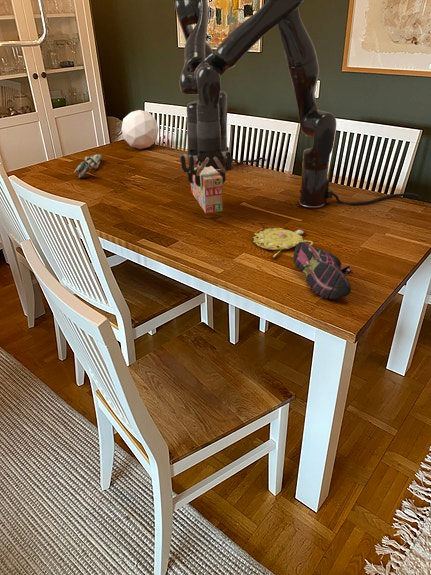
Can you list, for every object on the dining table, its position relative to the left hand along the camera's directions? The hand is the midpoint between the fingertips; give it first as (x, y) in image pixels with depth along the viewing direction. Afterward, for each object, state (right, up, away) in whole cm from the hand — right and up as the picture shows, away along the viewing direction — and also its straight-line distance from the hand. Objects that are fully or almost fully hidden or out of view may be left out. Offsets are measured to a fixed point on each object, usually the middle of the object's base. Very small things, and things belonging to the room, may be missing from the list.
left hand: (200, 181), depth 162 cm
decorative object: (+27, -25, -22) cm, 43 cm away
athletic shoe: (+35, -38, -42) cm, 67 cm away
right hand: (+4, -4, -13) cm, 15 cm away
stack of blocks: (+2, -8, -3) cm, 9 cm away
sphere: (-34, +37, +78) cm, 93 cm away
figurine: (-54, +17, +47) cm, 74 cm away
